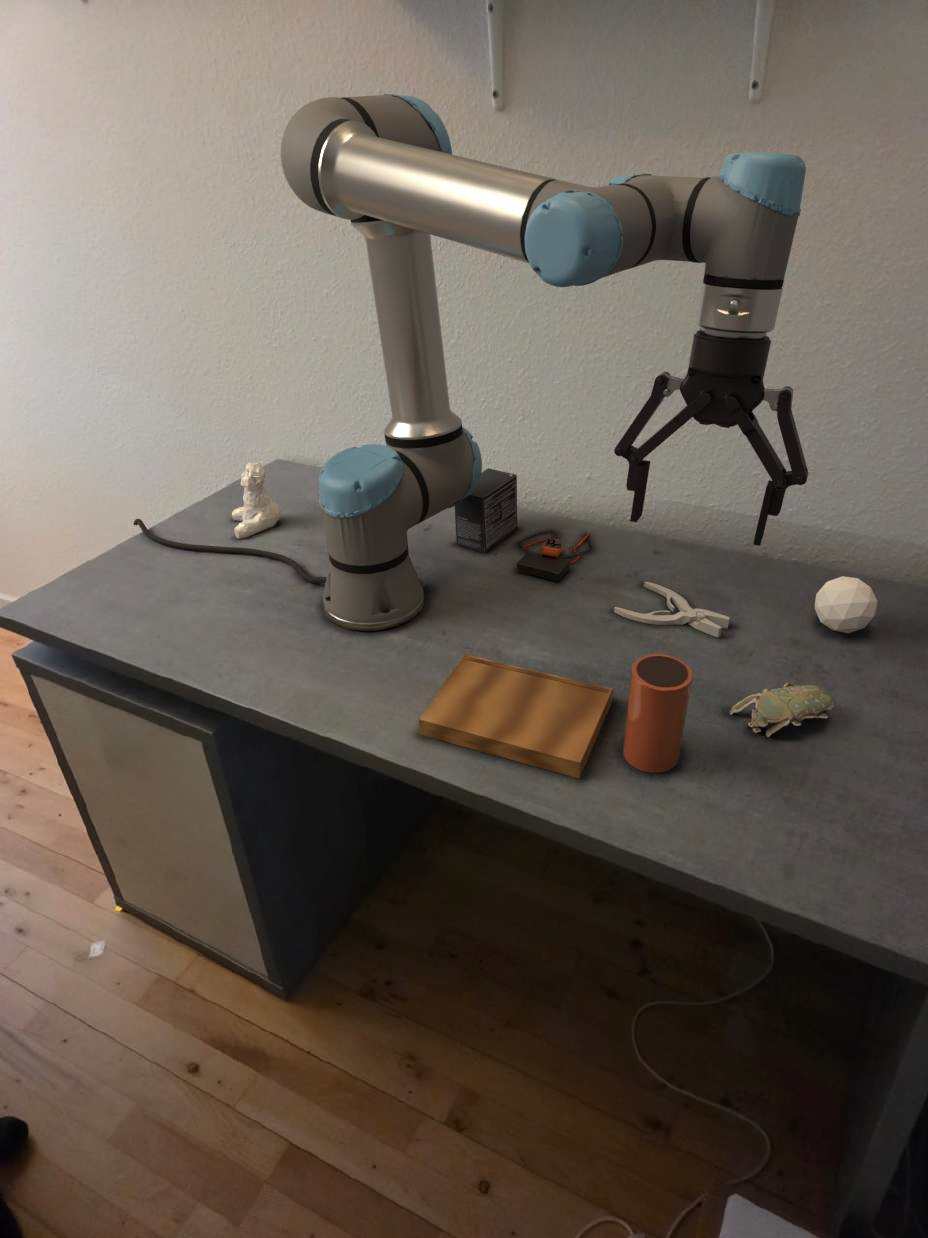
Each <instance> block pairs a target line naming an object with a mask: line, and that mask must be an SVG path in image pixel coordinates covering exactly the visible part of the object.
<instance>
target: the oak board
mask: <svg viewBox="0 0 928 1238" xmlns="http://www.w3.org/2000/svg"><path fill="white" fill-rule="evenodd" d="M613 692H614V691H613V688H612V687H607V686H603V685H599V684H594V683H590V682H585V681H582V680H578V679H573V678H568V677H565V676H560V675H555V674H552V673H547V672H543V671H539V670H534V669H529V668H526V667H521V666H517V665H512V664H508V663H504V662H500V661H497V660H492V659H486V658H483V657H478V656H474V655H469V654H464V655H463V657H462V658H461V660H460V661H459V662H458V664H457V665H456V666H455V668H454V669H453V671H452V672H451V673H450V675H449V676H448V678H447V679H446V681H445V682H444V683H443V685H442V686H441V688H440V689H439V690H438V691H437V693H436V694H435V696H434V697H433V699H432V700H431V701H430V703H429V704H428V706H427V707H426V709H424V711H423V713H422V714H421V716H420V717H419V718H418V725H419V735H420V736H424V737H427V738H431V739H434V740H439V741H441V742H445V743H448V744H449V743H450V744H452V745H456V746H460V747H463V748H468V749H470V750H474V751H478V752H481V753H485V754H489V755H492V756H495V757H500V758H503V759H507V760H510V761H514V762H518V763H522V764H524V765H527V766H532V767H536V768H540V769H543V770H547V771H550V772H554V773H557V774H560V775H564V776H567V777H572V778H576V779H581V776H582V774H583V771H584V769H585V768H586V765H587V762H588V760H589V757H590V755H591V753H592V750H593V748H594V746H595V743H596V741H597V739H598V736H599V734H600V731H601V729H602V727H603V724H604V722H605V720H606V717H607V715H608V713H609V710H610V708H611V706H612V701H613Z"/></svg>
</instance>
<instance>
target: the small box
mask: <svg viewBox="0 0 928 1238" xmlns="http://www.w3.org/2000/svg"><path fill="white" fill-rule="evenodd" d="M454 521H455V541H456V545H457V546H461V547H464V548H466V549H470V550H473V551H476V552H479V553H482V554H486V553H487V552H489V551H490V550H492V549H493V548H494V547H496V546H497V545H498V544H499V543H501V542H503V541H504V540H505V539H506V538H508V537H509V536H510V535H512V534H513V533H515V532H516V531H517V530H518V529H519V527H518V526H519V525H518V475H517V474H516V473H511V472H507V471H502V470H497V469H493V468H489V467H488V468H486V469H485V470H483V471H481V476H480V480H479V482H478V484H477V486H476V488H475V489H474V491H473V492H472V493H471V494H470V495H469V496H467V497H466V498H464V499H463V500H461V502H459V503H458V504H457V505H455V506H454Z"/></svg>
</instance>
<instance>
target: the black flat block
mask: <svg viewBox="0 0 928 1238" xmlns="http://www.w3.org/2000/svg"><path fill="white" fill-rule="evenodd" d="M592 532H594V531H593V530H591V531H590V532H588V533H586V532H584V535H585V536H584V538H582V540H581V541H580V542H579V543H578V544H577V545H576V546H575V547H574V549H573V551H574V553H576V554H573V555H570V556H565V557H560V554H561V551H562V549H563V548H562V547H563V545H562V543H561V542H559V541H560V539H557V538H556V537H557V535H556V533H555V532H554V531H552V530H545V531H541V532H538V533H536V534H534V535H530V536H528V537H526V538H524V539H522V540H521V541H519V542H518V543H517V546H518V547H520V548H522V549H523V550H524V552H526V553H525V554H524V556H523V557H521V558H520V560H518V561H517V563H516V571H517V572H518V573H522V574H526V575H531V576H535V577H540V578H543V579H547V580H550V581H554V582H559V581H560V580H561V579H562V578H563V577H564V576H565V575H566V574H567V572H568V571H570V569H571V564H572V563H574V562H576V561H577V560H579V558H580V555H581V554H585V553H588V552H590V551H591V550H592V544H591V541H590V539H589V537H590V536H591V533H592ZM544 533H552V534H553V535H554V536H552V537H549V538H544V539H539V540H537V541H535V542H532V543H528V544H526V545H524V546H522V545H519V544H521V543H522V542H524V541H525V540H529V539H530V538H533V537H536V536H538V535H541V534H544ZM551 540H552V541H551ZM585 540H587V542H588V546H589V547H590V549H589V550H587V551H584V552H583V551H582V552H579V553H578V552H577V551H576V549H577V548H578V547H580V546H581V545H582V544H583V543H584V542H585ZM541 541H544V542H543V546H542V548H541V549H542V550H541V553H539V552H536V551H531V550H530V551H528V550H527V549H526V547H527V546H531V545H534V544H537V543H539V542H541ZM576 556H577V558H576V559H574V560H572V561H570V560H568V559H569V558H573V557H576Z"/></svg>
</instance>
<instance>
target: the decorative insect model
mask: <svg viewBox="0 0 928 1238" xmlns="http://www.w3.org/2000/svg"><path fill="white" fill-rule="evenodd" d="M752 703H755V704H754V705H755V706H754V707H755V708H752V709H751V721H749V722H747V725H748V727H749V728H752V732H753V733H755V734H756V733H761V732H762V729H761V728H765V727H767V726H768V724H769V723H770V724H774V725H773V726H772V727H770V728H768V729H766V731H765V732H766V733H765V737H767V738H770V737H771V735H772V734H774V733H776V732H777V731H779V730H780V729H781V728H783V727H787V726H788V725H789V724H790V723H791V724H792V725H793V726H797V727H800V726H801V725H802V722H801V721H803V720H805V719H814V718H815V719H819V718H820V719H828V718H829V716H828V714H827V713H825V711H831V710H833V708H834V707H835V705H834V702H833V700H832V697H831V696H829V694H828V693H827V692H826V691H825V690H823V689H821V687H820V686H818V685H813V684H805V685H794V684H792V683H790V682H785V683H784V685H783V686H782V687H776V688H775V687H774V688H772V689H770V688H764V689H762V692H761V693H760V692H757V693H755V694H750V695H748V696H746V697H744V698H743V699H742V700H740V701H738V702H737V703H736V704H734V705H733V706H732V707H731V709H730V710H729V711H728V712H729V715H730V716H731V715H734V713H739V712H742V711H743V710H744V709H745V708H747V707H748V706H749V705H751V704H752ZM759 727H761V728H759Z"/></svg>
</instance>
